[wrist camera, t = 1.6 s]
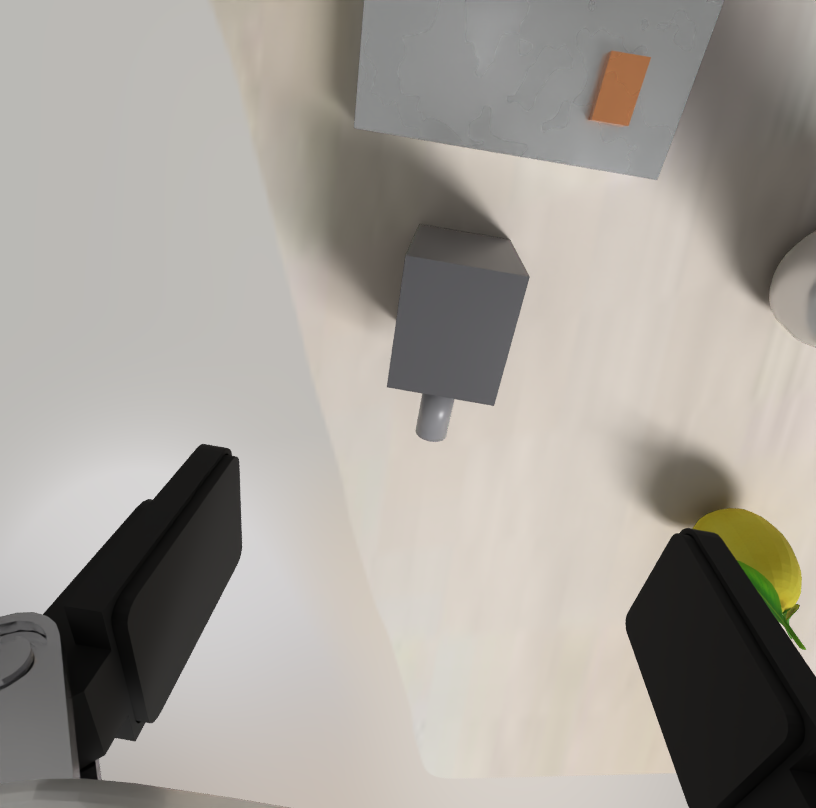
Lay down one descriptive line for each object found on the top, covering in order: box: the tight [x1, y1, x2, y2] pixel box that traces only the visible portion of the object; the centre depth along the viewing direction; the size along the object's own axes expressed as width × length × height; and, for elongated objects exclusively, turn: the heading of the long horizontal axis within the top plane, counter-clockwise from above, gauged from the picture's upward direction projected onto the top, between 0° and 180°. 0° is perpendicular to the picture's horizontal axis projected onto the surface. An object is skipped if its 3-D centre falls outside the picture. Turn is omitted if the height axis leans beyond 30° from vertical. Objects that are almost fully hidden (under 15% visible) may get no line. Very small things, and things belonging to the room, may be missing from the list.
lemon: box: [693, 508, 806, 650], centre depth 29 cm, size 7×6×10 cm
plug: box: [387, 224, 529, 442], centre depth 25 cm, size 9×5×8 cm, turn 172°
